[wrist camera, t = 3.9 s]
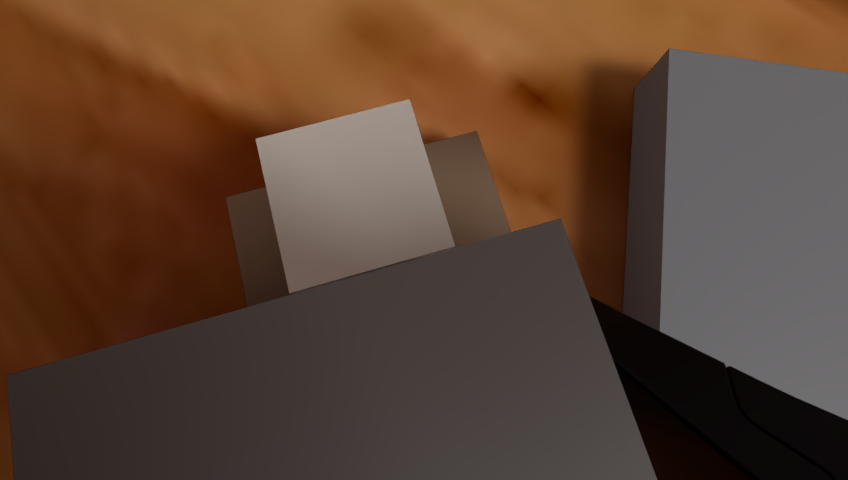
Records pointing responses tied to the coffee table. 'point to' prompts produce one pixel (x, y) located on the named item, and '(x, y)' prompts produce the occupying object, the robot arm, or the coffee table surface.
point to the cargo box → (352, 196)
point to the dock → (744, 218)
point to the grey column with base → (355, 369)
